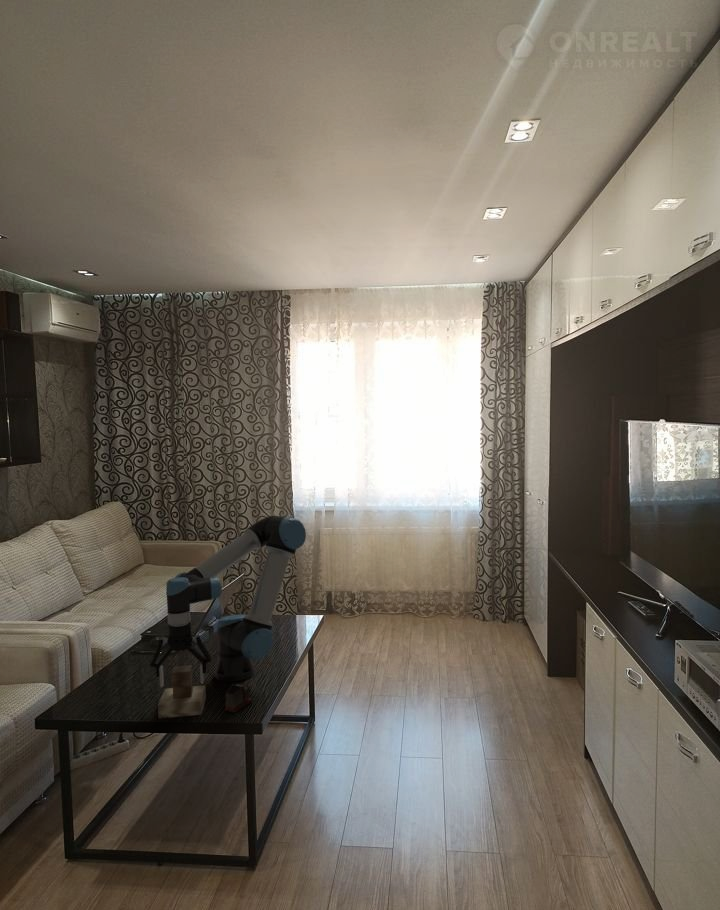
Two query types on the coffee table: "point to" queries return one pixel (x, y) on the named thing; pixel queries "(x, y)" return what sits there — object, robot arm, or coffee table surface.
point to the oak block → (182, 703)
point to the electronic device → (237, 698)
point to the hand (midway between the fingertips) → (182, 684)
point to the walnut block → (182, 682)
